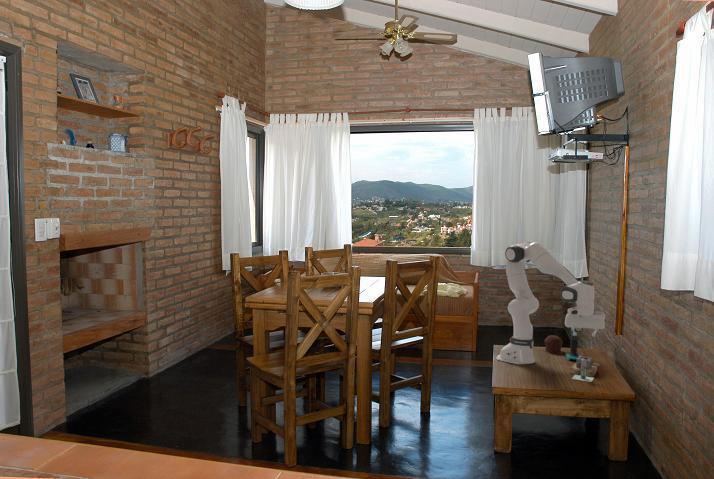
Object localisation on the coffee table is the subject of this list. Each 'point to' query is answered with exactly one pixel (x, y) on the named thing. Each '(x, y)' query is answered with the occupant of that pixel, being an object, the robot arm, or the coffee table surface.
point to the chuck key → (583, 368)
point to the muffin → (553, 344)
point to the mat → (588, 379)
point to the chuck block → (590, 368)
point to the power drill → (573, 345)
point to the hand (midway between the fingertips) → (584, 336)
